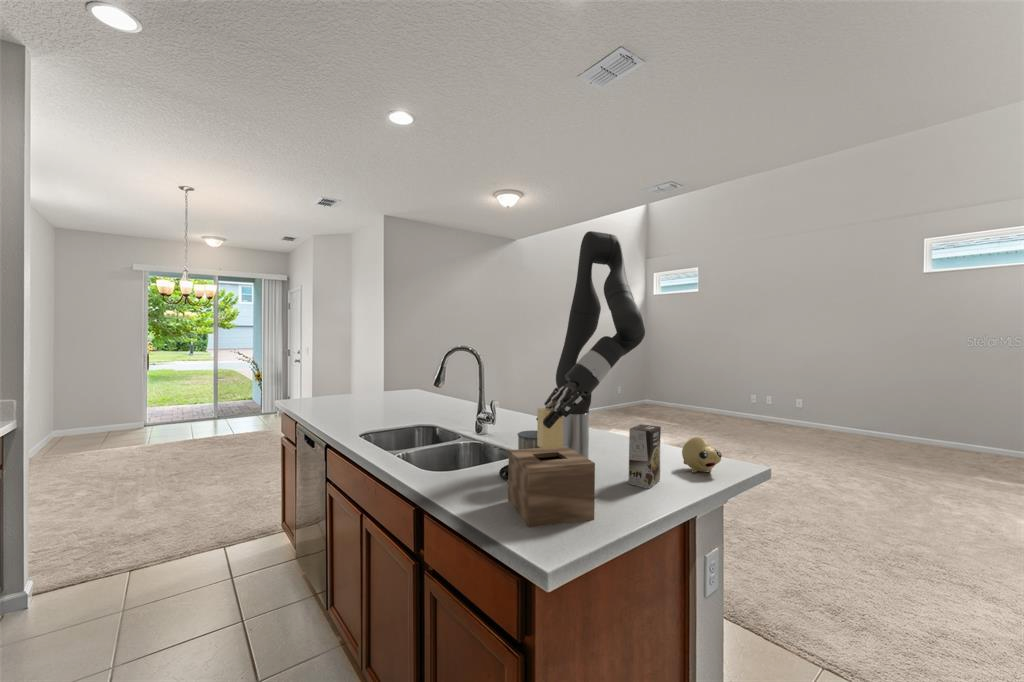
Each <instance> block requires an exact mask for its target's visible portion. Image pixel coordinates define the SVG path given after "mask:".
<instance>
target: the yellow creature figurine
mask: <svg viewBox="0 0 1024 682" xmlns="http://www.w3.org/2000/svg"><path fill="white" fill-rule="evenodd" d="M681 455H682V459H683V464H684V465H685V466H686V465H687V466H688V467H689V468H691V471H693V472H692V473H694V472H696V473H697V472H702V471H703V473H704V472H707V471H711V470H712V469H713V468H714V467H715V466H716V465H718V464H719V463H720V462H721V461H722V456H723V455H722V452H721V451H719V450H717V449H715V448H713V446H712V445H711V444H710V443H708V441H706V440H705V439H703V438H702V437H699V436H695V437H692V438H690V439H689V440H687V441H686V442H685V443H684V445H683V447H682V449H681ZM711 472H712V471H711Z"/></svg>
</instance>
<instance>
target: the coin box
mask: <svg viewBox="0 0 1024 682" xmlns="http://www.w3.org/2000/svg"><path fill="white" fill-rule="evenodd" d="M507 463H508V464H507V465H508V480H507V481H508V483H507V485H508V487H507V489H508V490H507V499H508V500H507V501H508V504H510V505H511V507H512V508H513V510H514V511H515V512H516V513H517V514H518V516H519V517H520V518H521V519H522V521H523V522H524V523H525V525H526V527H527V528H537V527H544V526H551V525H559V524H567V523H575V522H583V521H591V520H595V508H596V507H595V498H596V495H595V494H596V493H595V492H596V491H595V490H596V488H595V487H596V484H595V482H596V481H595V480H596V479H595V477H596V463H595V462H594V461H592V460H590V459H589V458H588V459H587V458H586V457H584V456H582V455H581V454H579V453H577V452H576V451H574V450H572V449H570V448H569V447H567V446H563V448H553V449H542V448H533V449H518V448H517V449H508V462H507Z"/></svg>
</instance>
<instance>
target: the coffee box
mask: <svg viewBox="0 0 1024 682" xmlns="http://www.w3.org/2000/svg"><path fill="white" fill-rule="evenodd" d="M661 429H662V428H661V426H657V425H650V424H649V425H648V424H638V425H635V426H633V427H631V428H629V439H628V440H629V441H628V442H629V443H628V447H629V448H628V485H630V484H631V486H634V485H636V486H635V487H639V486H640V487H639V488H643V487H645V488H644V489H647V488H650V489H651V488H652V487H654V486H655V485H656V484H658V483H659V482H660V481H661V435H662V434H661ZM659 480H660V481H659ZM658 481H659V482H658ZM657 482H658V483H657ZM654 484H655V485H654ZM653 485H654V486H653Z"/></svg>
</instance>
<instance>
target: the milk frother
mask: <svg viewBox="0 0 1024 682" xmlns="http://www.w3.org/2000/svg"><path fill="white" fill-rule="evenodd" d="M517 437H518V440H517V441H518V442H517V446H518V447H517V450H518V449H533V448H541V447H539V446H538V445H537V430H523V431H519V432H518V433H517ZM498 471H499V472H498V475H499V477H500V478H501V479H503V480H506V481H508V464H506V465H504V466H502V467H501V469H499V470H498Z"/></svg>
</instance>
